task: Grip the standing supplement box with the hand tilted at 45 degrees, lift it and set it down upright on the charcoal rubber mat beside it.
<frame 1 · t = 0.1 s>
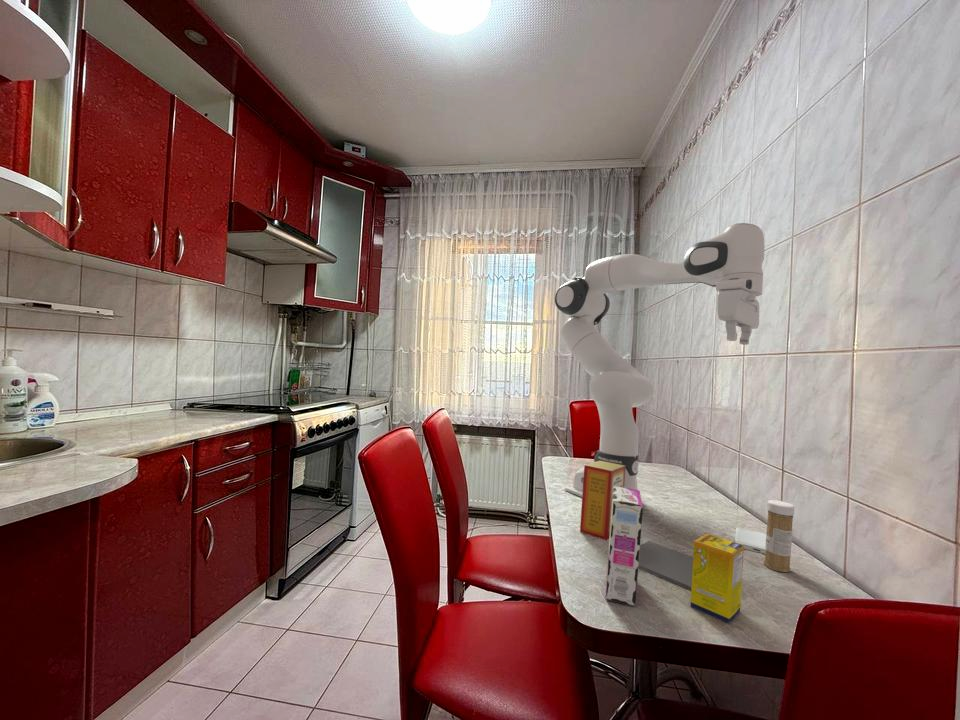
hand: (738, 342, 106), 48 cm above the table, tool pointing down, fingers open, 8 cm apart
candy bar box: (620, 589, 74), on the table
sprinkles bottle: (777, 569, 87), on the table
hard drive: (755, 546, 100), on the table
mat: (668, 564, 85), on the table
supplement box: (714, 610, 69), on the table
baking soda box: (600, 531, 101), on the table
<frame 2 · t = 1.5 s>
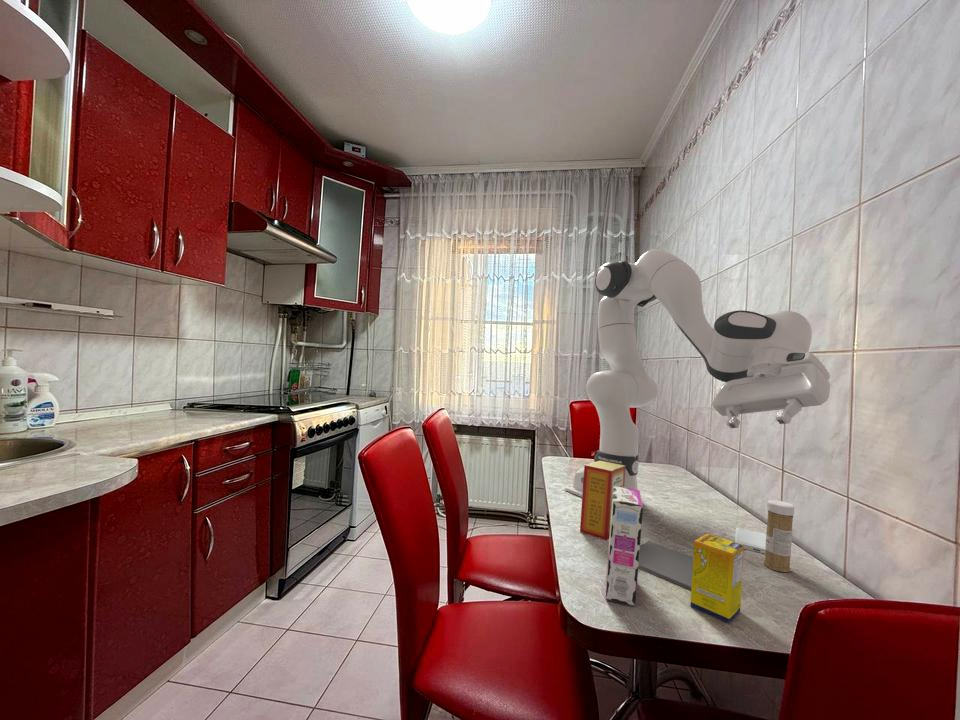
hand: (755, 424, 79), 30 cm above the table, tool tilted 40°, fingers open, 8 cm apart
nothing on the table moved.
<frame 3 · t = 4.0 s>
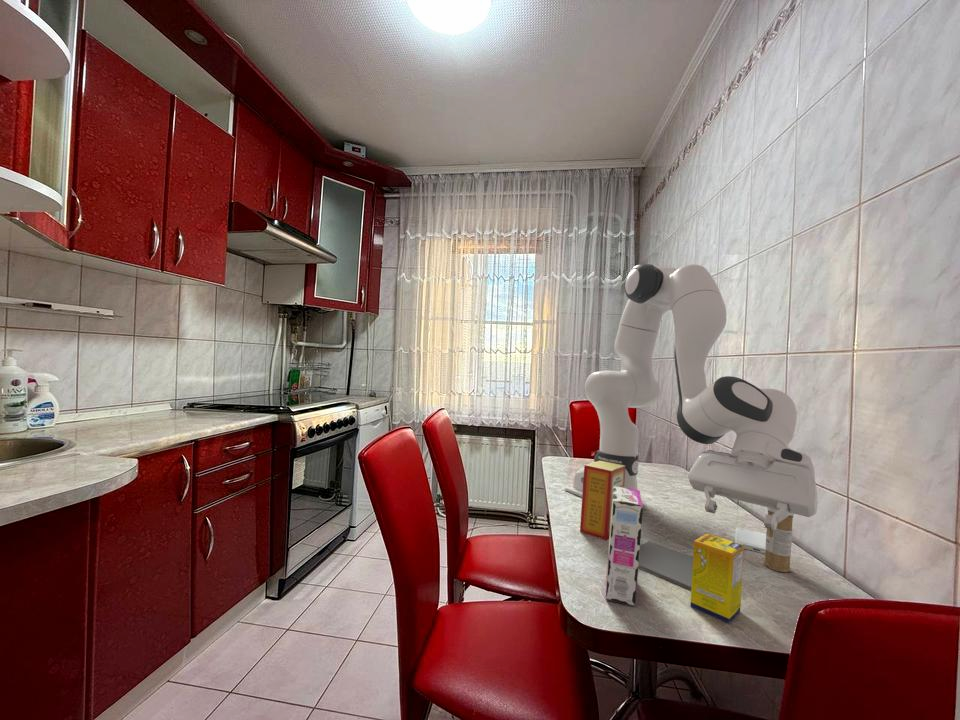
hand: (738, 518, 74), 13 cm above the table, tool tilted 45°, fingers open, 8 cm apart
nothing on the table moved.
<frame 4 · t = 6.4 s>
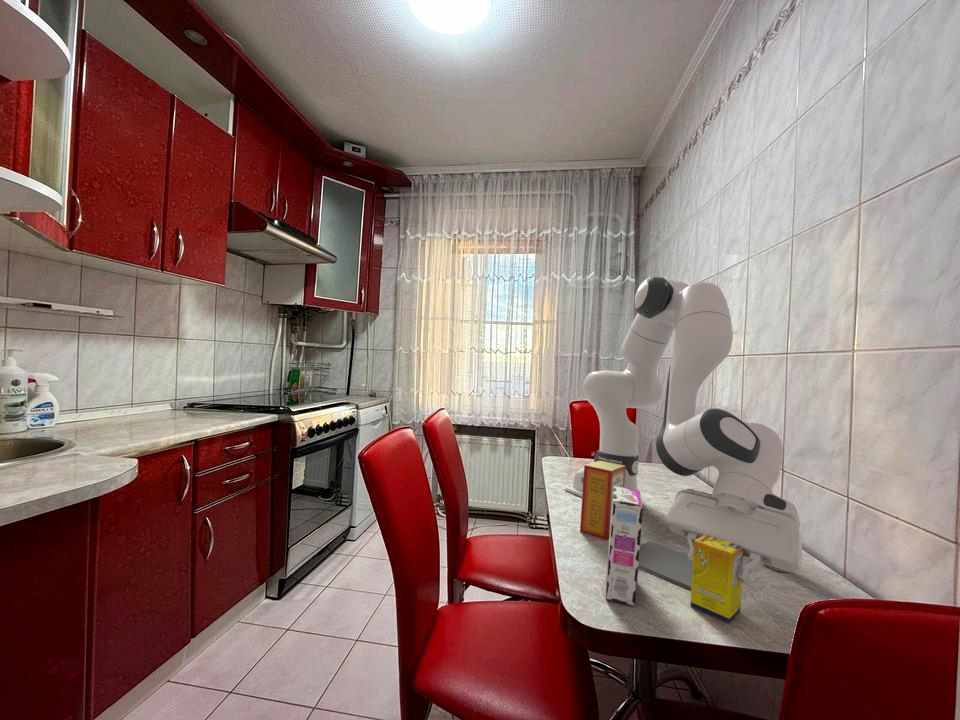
hand: (715, 570, 69), 6 cm above the table, tool tilted 45°, fingers closed on supplement box, 6 cm apart
supplement box: (714, 610, 69), on the table, touching gripper
everything else where it was.
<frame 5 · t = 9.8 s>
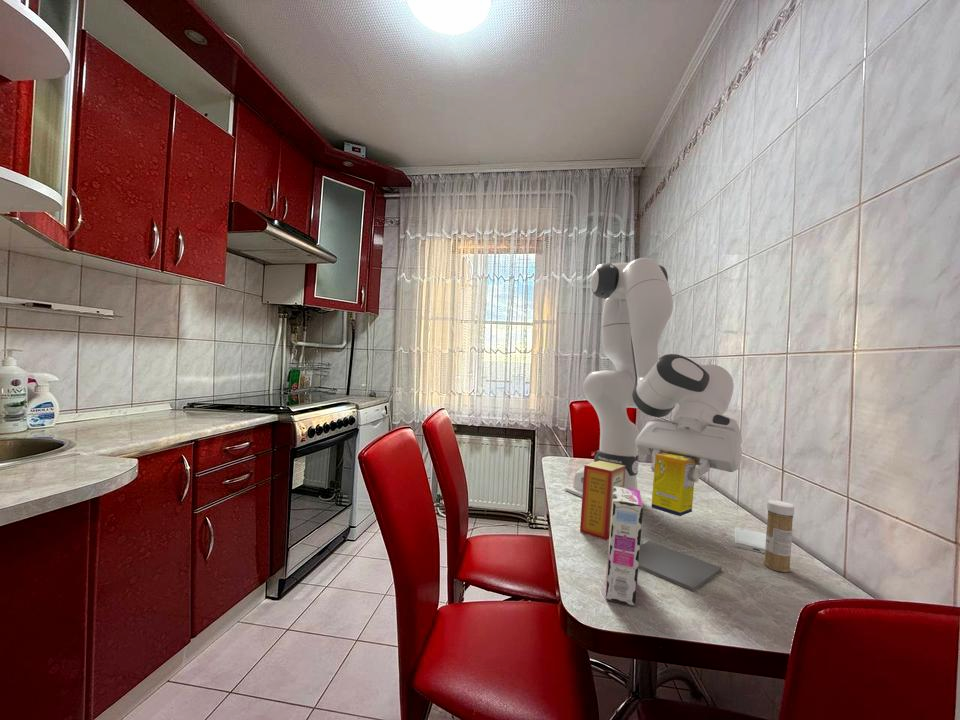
hand: (673, 475, 85), 18 cm above the table, tool tilted 45°, fingers closed on supplement box, 6 cm apart
supplement box: (671, 511, 85), point 11 cm above the table, touching gripper
everything else where it was.
when the fingers open (8 cm above the table, at t = 12.6 s): supplement box stays where it is, resting on mat.
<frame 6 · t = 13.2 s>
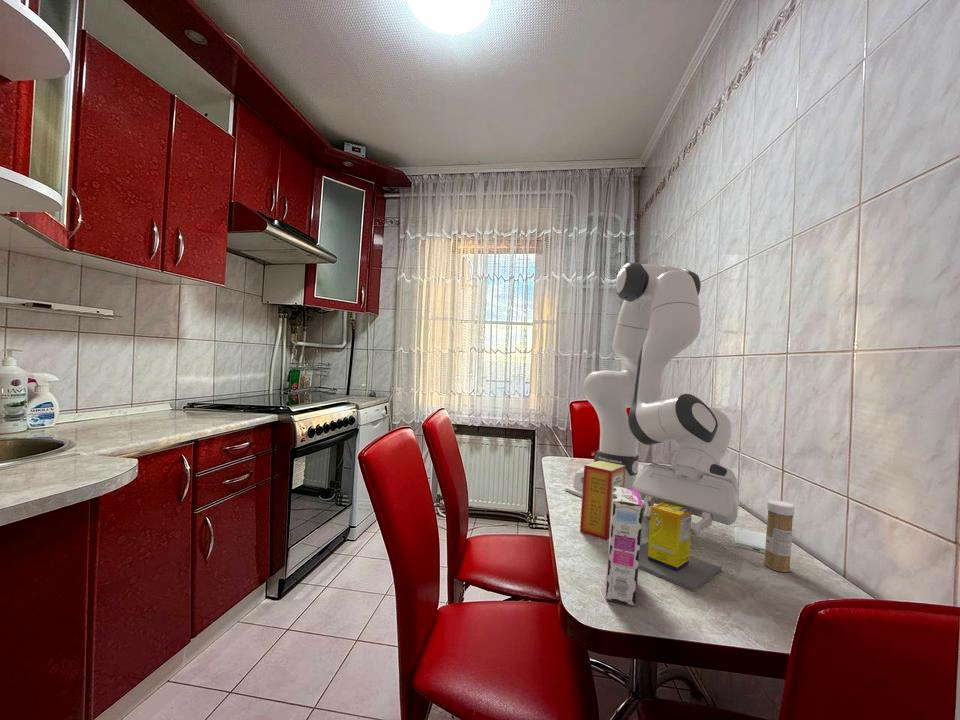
hand: (669, 525, 84), 8 cm above the table, tool tilted 45°, fingers open, 8 cm apart
supplement box: (667, 563, 84), resting on mat
everything else where it was.
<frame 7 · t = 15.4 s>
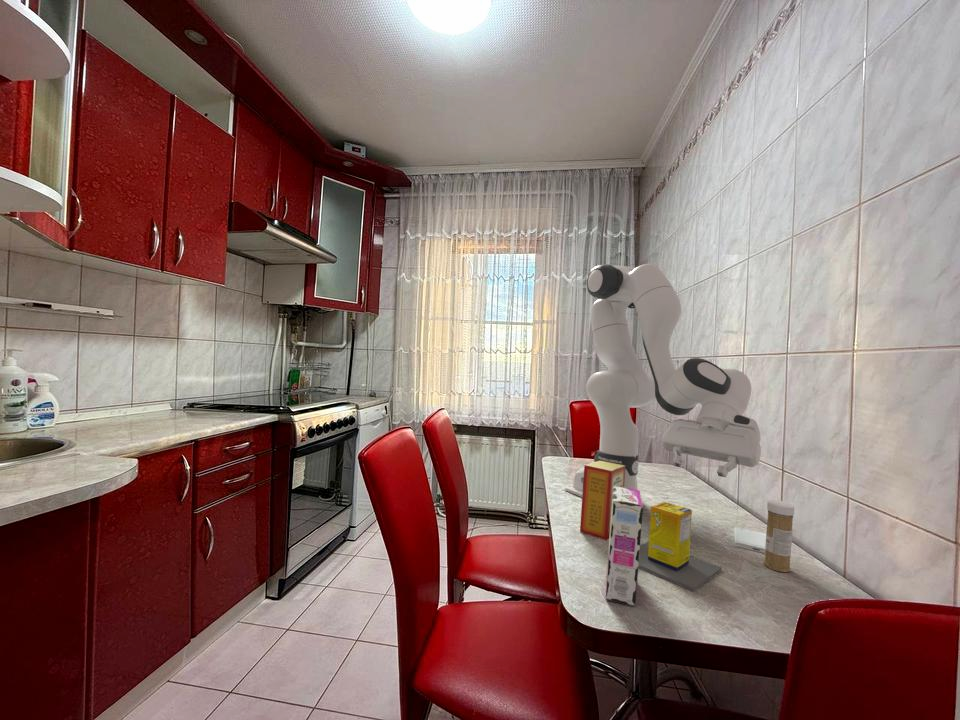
hand: (698, 469, 93), 18 cm above the table, tool tilted 45°, fingers open, 8 cm apart
nothing on the table moved.
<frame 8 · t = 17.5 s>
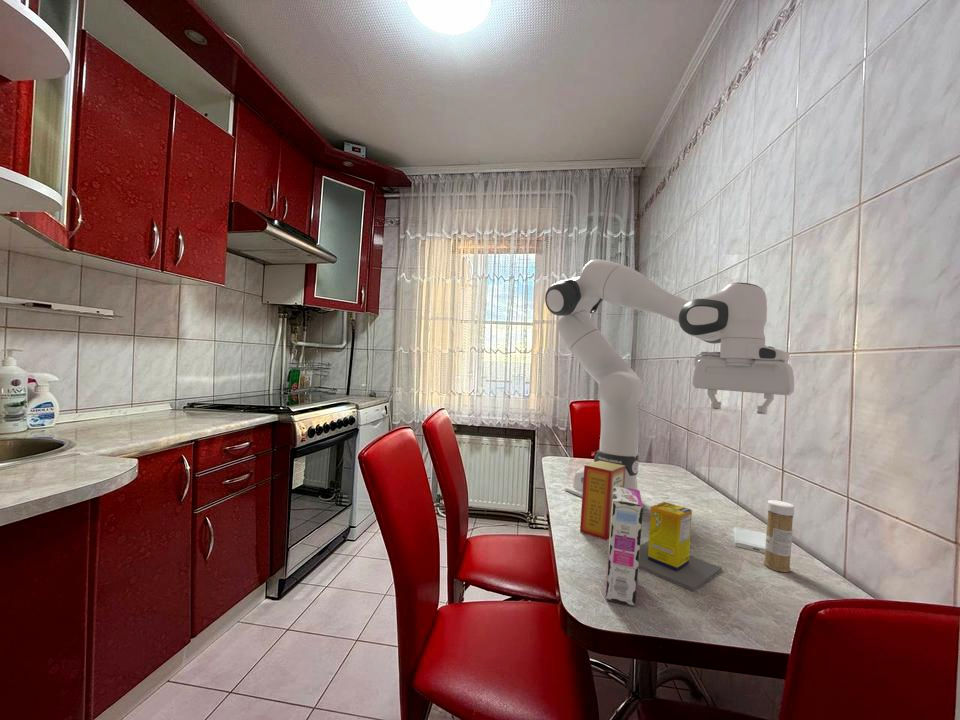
hand: (738, 411, 98), 31 cm above the table, tool pointing down, fingers open, 8 cm apart
nothing on the table moved.
at the end: supplement box inside the target area on the mat (0.5 cm from its centre), point 0.4 cm above the mat's base; supplement box tilted 0°; the gripper is holding nothing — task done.
